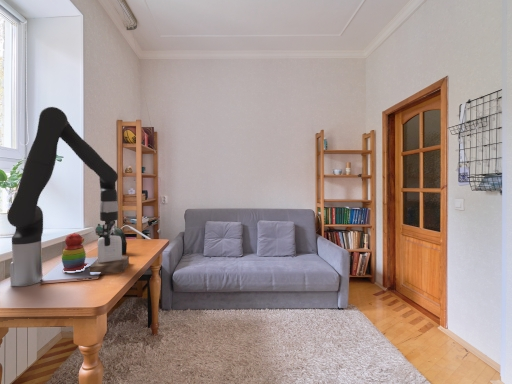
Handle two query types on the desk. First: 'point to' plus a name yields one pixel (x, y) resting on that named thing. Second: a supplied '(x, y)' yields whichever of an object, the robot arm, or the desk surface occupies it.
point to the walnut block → (110, 266)
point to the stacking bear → (74, 253)
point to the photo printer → (110, 249)
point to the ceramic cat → (118, 233)
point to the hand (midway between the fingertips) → (109, 243)
